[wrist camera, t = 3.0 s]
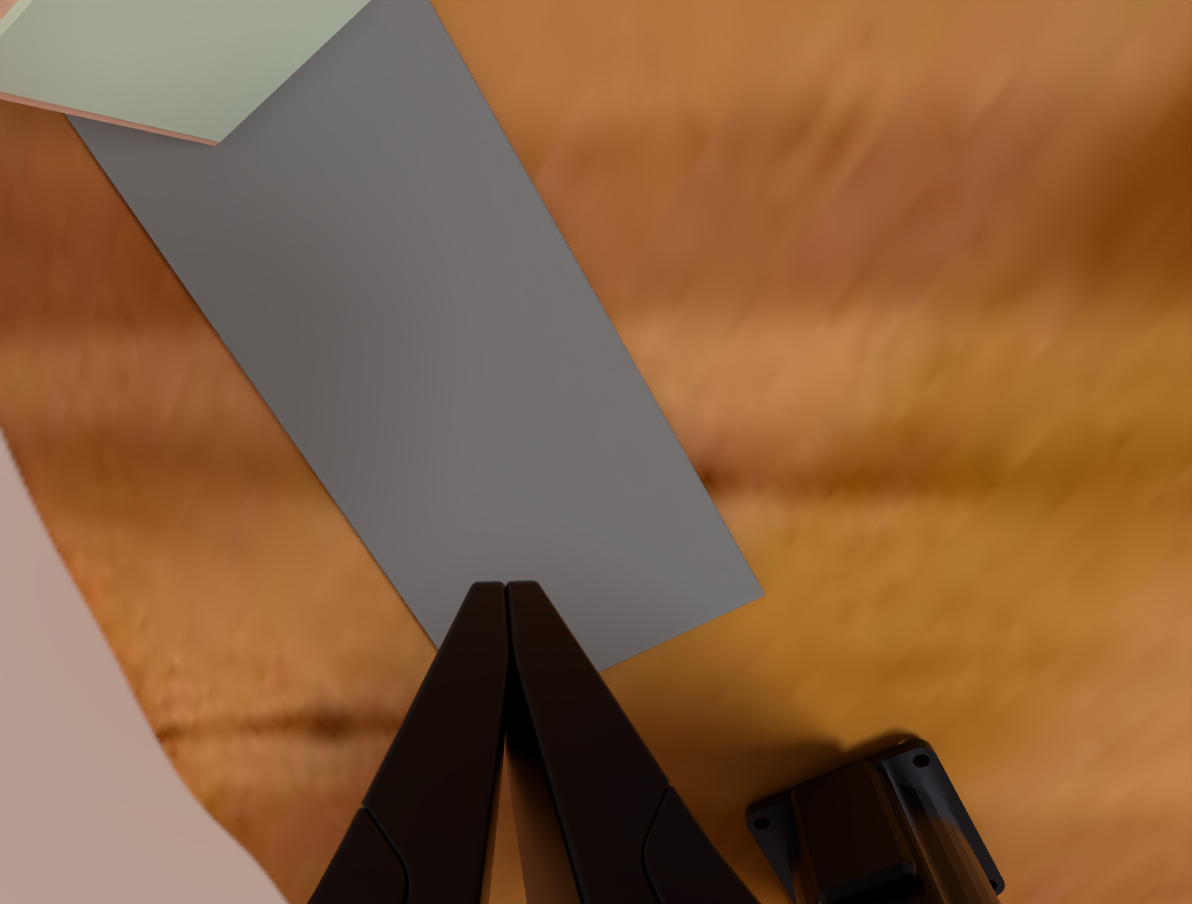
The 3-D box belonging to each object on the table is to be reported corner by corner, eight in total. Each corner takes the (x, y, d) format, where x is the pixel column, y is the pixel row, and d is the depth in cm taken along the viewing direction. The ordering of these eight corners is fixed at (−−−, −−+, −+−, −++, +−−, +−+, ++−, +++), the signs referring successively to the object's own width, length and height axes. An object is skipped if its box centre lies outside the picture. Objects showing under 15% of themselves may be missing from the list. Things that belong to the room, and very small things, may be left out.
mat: (763, 590, 22) (764, 595, 22) (491, 717, 24) (489, 722, 24) (200, -406, 16) (191, -418, 16) (-95, -125, 18) (-107, -132, 18)
